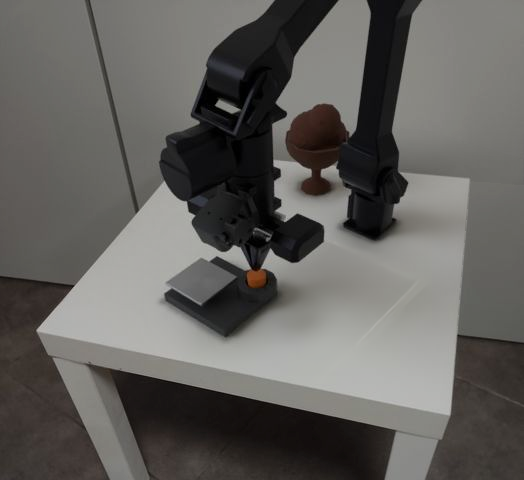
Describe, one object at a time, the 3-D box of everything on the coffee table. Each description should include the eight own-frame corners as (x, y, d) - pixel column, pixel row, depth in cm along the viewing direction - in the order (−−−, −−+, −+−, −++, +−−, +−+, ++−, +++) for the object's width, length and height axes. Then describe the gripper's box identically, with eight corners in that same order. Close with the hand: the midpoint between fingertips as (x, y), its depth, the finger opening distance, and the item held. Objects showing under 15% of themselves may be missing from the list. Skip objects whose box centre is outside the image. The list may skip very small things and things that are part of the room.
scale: (284, 294, 79) (284, 278, 76) (229, 340, 73) (227, 324, 71) (221, 260, 85) (219, 244, 82) (165, 300, 79) (161, 285, 77)
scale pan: (237, 278, 77) (237, 276, 76) (201, 306, 73) (201, 304, 73) (201, 259, 80) (201, 257, 80) (165, 284, 77) (165, 282, 76)
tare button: (269, 281, 77) (269, 273, 75) (257, 291, 75) (257, 282, 74) (256, 274, 78) (255, 265, 77) (244, 283, 77) (243, 275, 75)
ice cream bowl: (345, 171, 101) (351, 88, 90) (345, 205, 93) (352, 118, 82) (288, 170, 102) (287, 88, 91) (284, 203, 94) (282, 118, 83)
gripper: (144, 169, 64) (167, 272, 75) (264, 225, 55) (270, 332, 67) (210, 133, 69) (222, 234, 81) (329, 178, 61) (324, 285, 72)
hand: (256, 269), depth 75 cm, fingers closed
